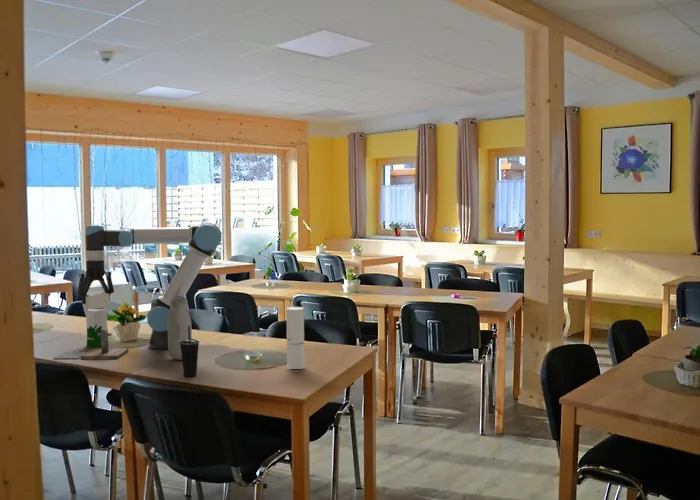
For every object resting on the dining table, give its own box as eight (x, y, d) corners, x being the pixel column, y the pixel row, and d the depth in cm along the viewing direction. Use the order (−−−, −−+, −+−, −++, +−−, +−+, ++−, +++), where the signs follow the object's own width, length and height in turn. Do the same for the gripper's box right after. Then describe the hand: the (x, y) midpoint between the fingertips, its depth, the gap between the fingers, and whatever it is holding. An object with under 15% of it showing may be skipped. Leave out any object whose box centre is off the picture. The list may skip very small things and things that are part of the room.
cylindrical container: (295, 364, 268) (294, 306, 266) (308, 367, 263) (307, 308, 261) (283, 368, 262) (282, 308, 260) (296, 371, 258) (295, 310, 256)
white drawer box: (101, 304, 290) (100, 291, 290) (109, 307, 285) (109, 293, 284) (82, 306, 284) (82, 293, 284) (90, 309, 279) (90, 295, 278)
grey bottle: (167, 357, 281) (165, 295, 279) (191, 355, 285) (189, 293, 283) (169, 363, 272) (167, 298, 270) (193, 360, 276) (192, 296, 274)
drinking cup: (201, 373, 256) (200, 324, 254) (197, 378, 248) (196, 328, 246) (182, 373, 255) (181, 324, 254) (178, 378, 248) (176, 328, 246)
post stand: (128, 351, 294) (127, 325, 293) (117, 359, 280) (116, 332, 279) (93, 351, 293) (92, 326, 293) (81, 359, 280) (80, 332, 279)
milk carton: (111, 344, 308) (110, 304, 306) (96, 348, 299) (95, 306, 298) (98, 343, 311) (96, 302, 310) (83, 347, 303) (81, 305, 302)
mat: (88, 353, 291) (88, 352, 291) (78, 359, 280) (78, 357, 280) (64, 353, 291) (64, 352, 291) (53, 359, 280) (53, 358, 280)
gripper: (114, 257, 293) (115, 306, 295) (67, 260, 278) (68, 311, 280) (121, 259, 288) (122, 308, 290) (74, 261, 273) (75, 313, 274)
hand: (96, 309), depth 285 cm, fingers closed on white drawer box, 8 cm apart
